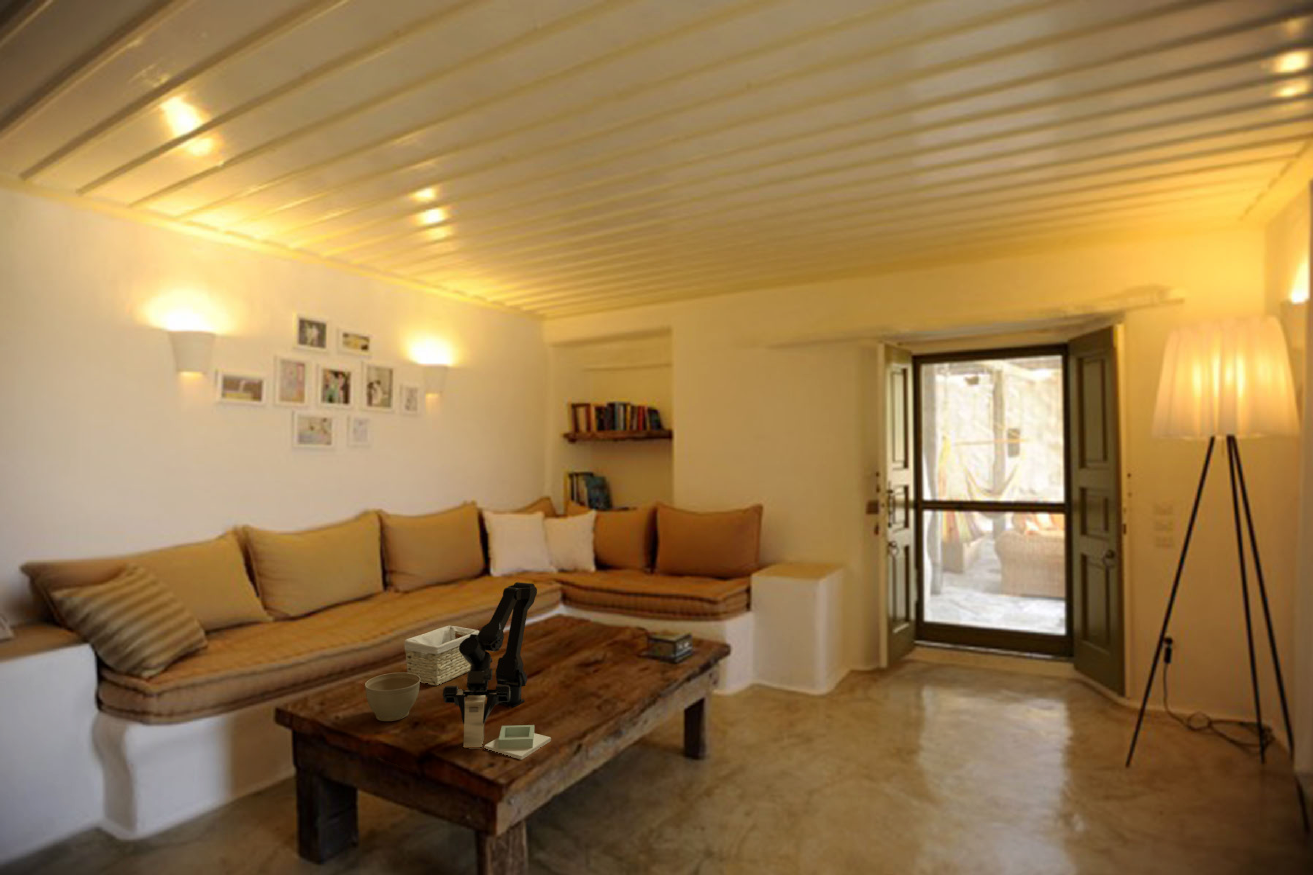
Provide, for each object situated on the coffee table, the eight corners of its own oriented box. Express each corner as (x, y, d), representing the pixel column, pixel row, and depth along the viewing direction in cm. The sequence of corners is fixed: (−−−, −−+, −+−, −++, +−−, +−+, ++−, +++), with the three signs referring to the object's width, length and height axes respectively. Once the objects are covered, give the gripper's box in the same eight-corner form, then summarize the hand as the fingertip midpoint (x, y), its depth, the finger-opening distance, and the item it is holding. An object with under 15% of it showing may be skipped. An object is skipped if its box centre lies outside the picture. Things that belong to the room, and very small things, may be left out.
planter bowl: (402, 701, 222) (403, 668, 222) (429, 715, 212) (430, 680, 212) (354, 716, 210) (355, 681, 210) (380, 731, 199) (382, 694, 200)
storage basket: (435, 688, 235) (436, 646, 235) (400, 680, 242) (402, 639, 242) (480, 668, 257) (482, 629, 257) (447, 662, 264) (448, 624, 264)
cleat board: (513, 730, 202) (513, 719, 202) (550, 740, 196) (551, 728, 196) (482, 748, 190) (483, 736, 190) (521, 759, 184) (521, 746, 184)
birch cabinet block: (466, 740, 194) (467, 695, 195) (483, 740, 195) (485, 695, 195) (462, 749, 189) (464, 703, 189) (481, 749, 189) (483, 702, 190)
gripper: (444, 658, 195) (436, 711, 184) (510, 657, 198) (506, 709, 187) (448, 676, 203) (440, 728, 192) (512, 675, 205) (507, 726, 194)
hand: (473, 722), depth 191 cm, fingers closed on birch cabinet block, 5 cm apart
